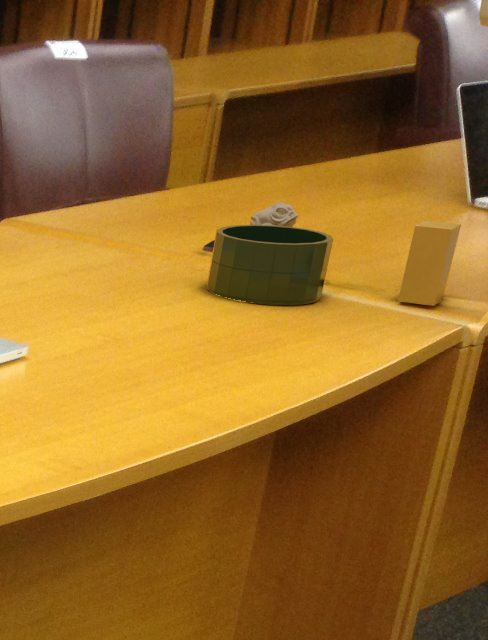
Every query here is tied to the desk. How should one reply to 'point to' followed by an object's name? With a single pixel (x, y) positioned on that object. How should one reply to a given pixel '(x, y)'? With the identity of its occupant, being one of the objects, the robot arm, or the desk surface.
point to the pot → (269, 264)
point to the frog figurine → (275, 216)
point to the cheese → (429, 262)
